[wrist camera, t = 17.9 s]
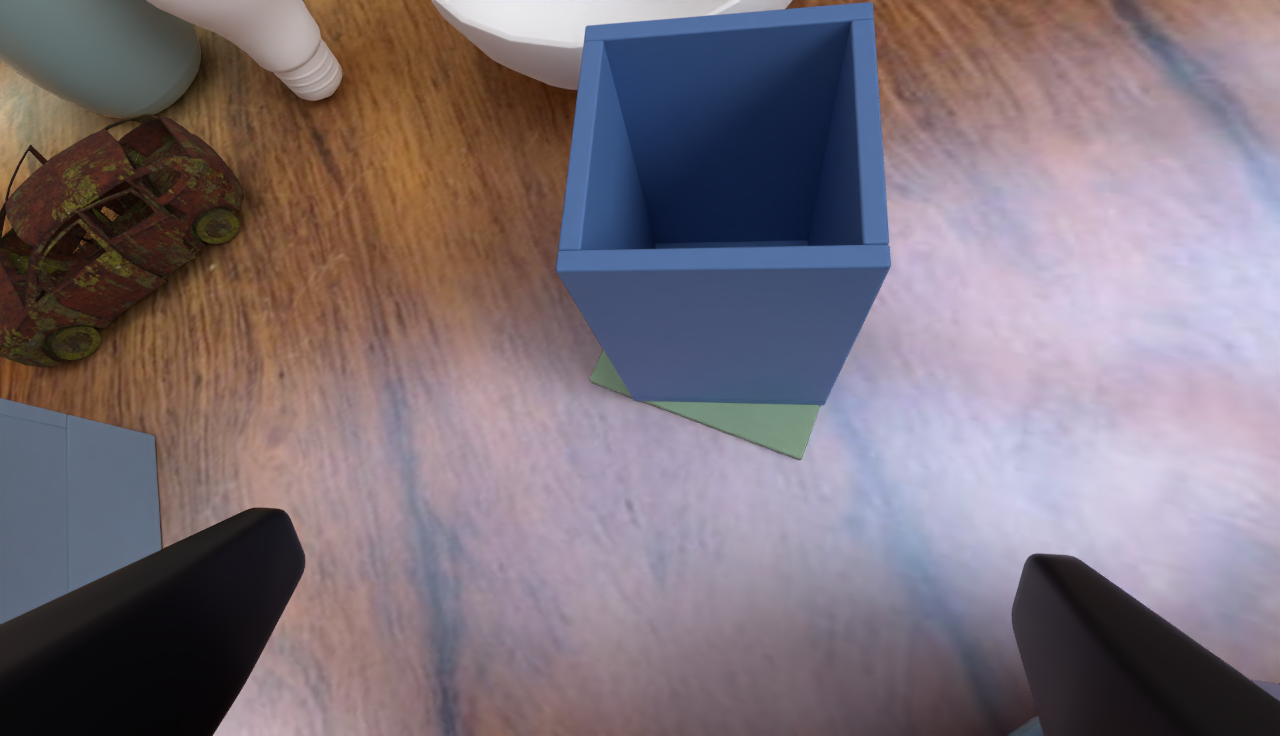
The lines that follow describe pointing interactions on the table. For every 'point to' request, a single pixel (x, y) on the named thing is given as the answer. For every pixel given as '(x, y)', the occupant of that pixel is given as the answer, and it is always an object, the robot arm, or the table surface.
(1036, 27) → the table surface
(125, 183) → the toy car
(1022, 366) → the table surface
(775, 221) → the upper bin
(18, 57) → the cup
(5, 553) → the lower bin
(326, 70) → the lightbulb
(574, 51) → the bowl
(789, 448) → the mat
